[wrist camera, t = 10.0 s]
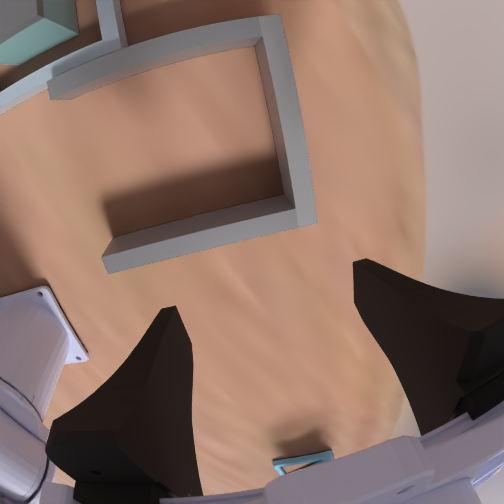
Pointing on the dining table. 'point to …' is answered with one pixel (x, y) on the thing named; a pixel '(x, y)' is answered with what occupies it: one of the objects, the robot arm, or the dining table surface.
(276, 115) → the bay
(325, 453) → the chair
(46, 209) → the dining table surface
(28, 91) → the blue-grey square frame
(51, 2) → the grey block
